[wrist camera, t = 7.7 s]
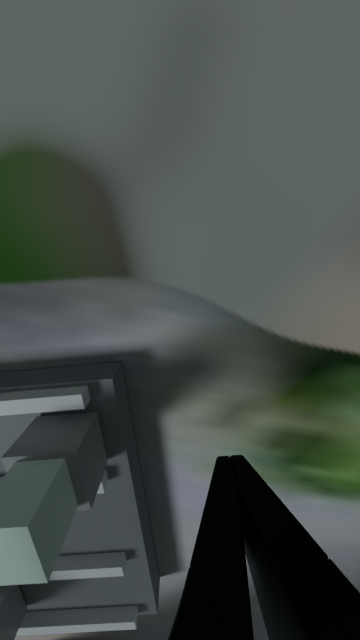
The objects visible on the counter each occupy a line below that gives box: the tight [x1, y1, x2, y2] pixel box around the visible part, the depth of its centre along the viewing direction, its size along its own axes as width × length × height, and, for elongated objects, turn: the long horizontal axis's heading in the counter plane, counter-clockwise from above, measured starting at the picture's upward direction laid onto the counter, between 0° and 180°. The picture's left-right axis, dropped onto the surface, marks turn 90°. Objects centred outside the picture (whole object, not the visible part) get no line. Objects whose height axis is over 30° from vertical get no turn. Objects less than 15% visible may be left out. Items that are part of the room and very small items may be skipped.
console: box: [0, 361, 160, 636], centre depth 12 cm, size 14×11×2 cm
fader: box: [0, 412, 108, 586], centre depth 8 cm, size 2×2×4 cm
